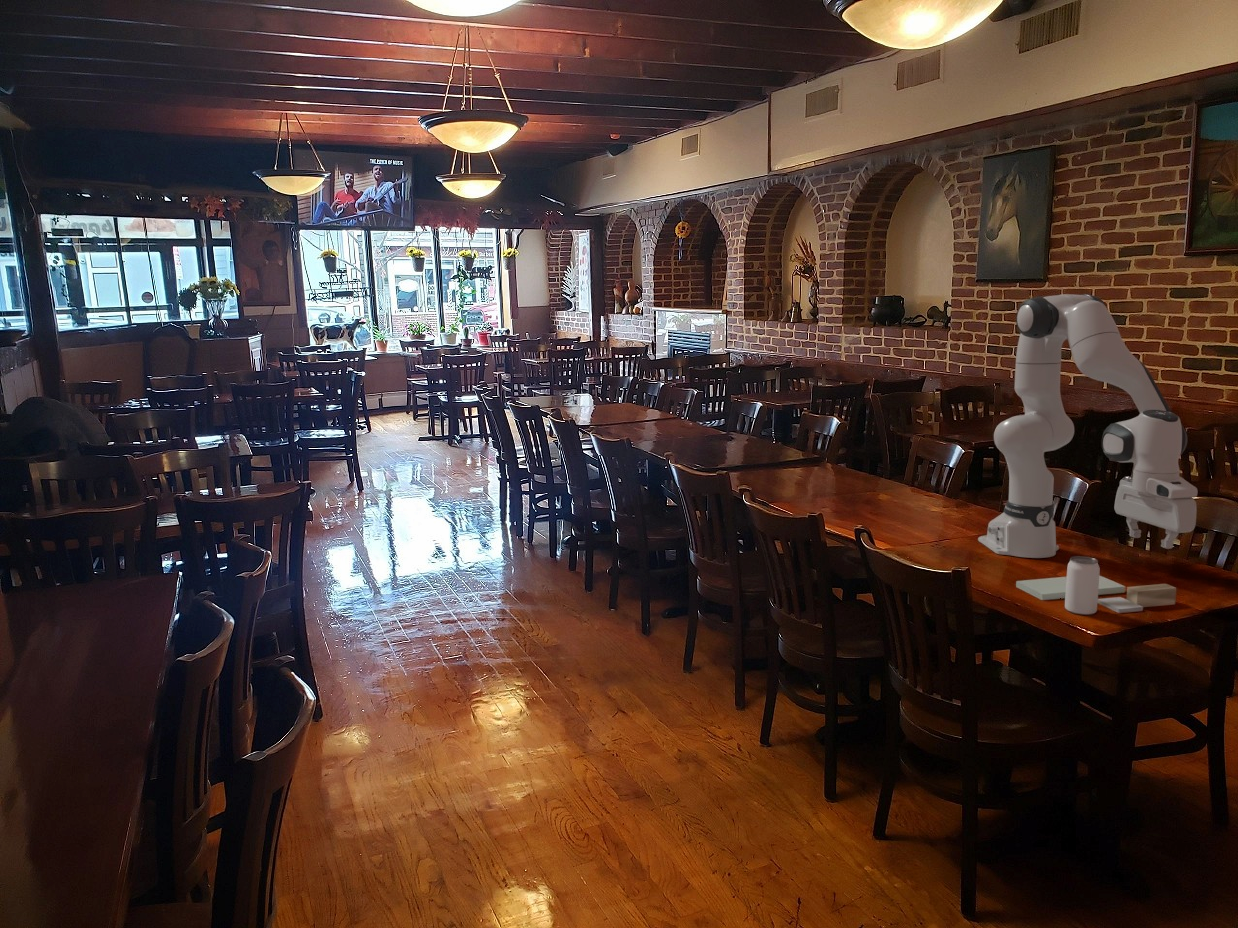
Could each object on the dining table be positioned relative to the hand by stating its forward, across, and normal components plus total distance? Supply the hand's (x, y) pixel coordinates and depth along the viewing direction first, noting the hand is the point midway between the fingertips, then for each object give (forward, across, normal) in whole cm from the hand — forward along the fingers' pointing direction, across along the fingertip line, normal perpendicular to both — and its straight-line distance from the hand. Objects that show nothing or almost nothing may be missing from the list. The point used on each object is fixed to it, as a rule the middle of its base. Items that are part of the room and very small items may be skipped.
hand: (1150, 542), depth 196 cm
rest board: (+15, -13, -10) cm, 22 cm away
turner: (+15, 0, -2) cm, 15 cm away
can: (+15, 0, -16) cm, 22 cm away
